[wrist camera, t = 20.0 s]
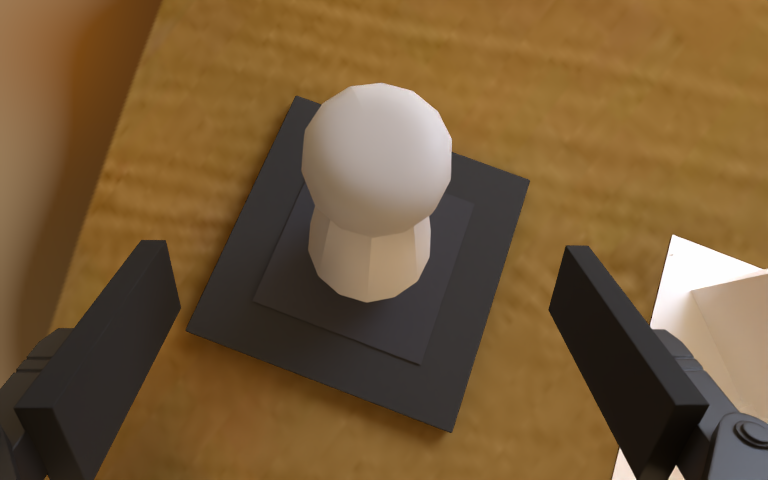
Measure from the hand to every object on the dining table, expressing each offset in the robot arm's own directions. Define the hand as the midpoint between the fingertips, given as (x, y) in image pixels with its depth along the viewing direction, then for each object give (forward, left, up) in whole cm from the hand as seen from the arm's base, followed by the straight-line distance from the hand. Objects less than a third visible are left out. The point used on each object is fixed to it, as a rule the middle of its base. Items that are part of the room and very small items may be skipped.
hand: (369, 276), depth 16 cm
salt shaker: (-2, +2, -9) cm, 9 cm away
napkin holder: (+18, +9, -10) cm, 22 cm away
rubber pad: (-2, +2, -9) cm, 10 cm away
